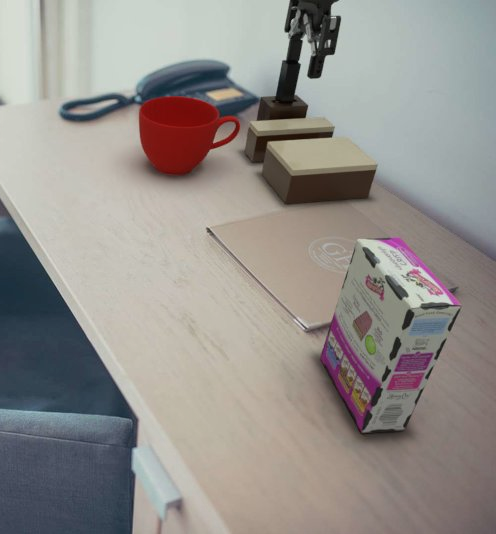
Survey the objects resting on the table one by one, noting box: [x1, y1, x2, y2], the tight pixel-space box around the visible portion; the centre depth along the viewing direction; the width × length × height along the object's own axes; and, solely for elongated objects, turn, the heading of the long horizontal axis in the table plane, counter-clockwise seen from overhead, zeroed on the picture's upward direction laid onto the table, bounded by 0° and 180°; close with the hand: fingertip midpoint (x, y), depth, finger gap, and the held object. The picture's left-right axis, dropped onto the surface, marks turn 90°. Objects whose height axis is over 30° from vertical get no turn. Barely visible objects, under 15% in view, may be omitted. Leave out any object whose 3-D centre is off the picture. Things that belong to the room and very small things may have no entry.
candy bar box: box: [319, 236, 463, 434], centre depth 64 cm, size 11×5×16 cm, turn 6°
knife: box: [275, 59, 302, 104], centre depth 115 cm, size 3×2×14 cm
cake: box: [261, 136, 379, 205], centre depth 104 cm, size 14×10×6 cm
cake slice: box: [244, 116, 336, 163], centre depth 112 cm, size 14×4×6 cm, turn 100°
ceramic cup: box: [138, 95, 241, 176], centre depth 107 cm, size 13×17×10 cm
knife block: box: [256, 94, 309, 121], centre depth 117 cm, size 7×5×8 cm
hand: (302, 69), depth 110 cm, fingers open, 8 cm apart
